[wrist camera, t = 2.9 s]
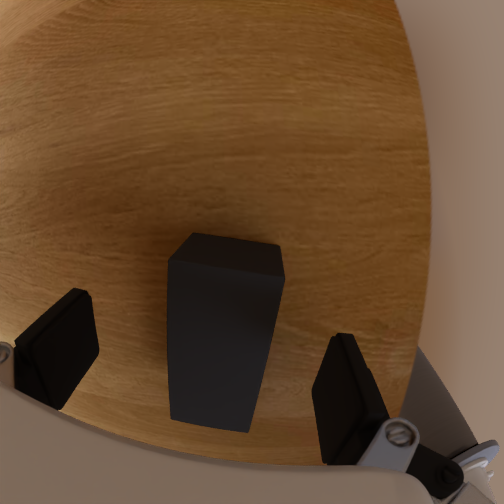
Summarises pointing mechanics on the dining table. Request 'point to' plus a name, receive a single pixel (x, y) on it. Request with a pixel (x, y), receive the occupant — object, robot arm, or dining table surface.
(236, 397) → the pad
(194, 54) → the dining table surface
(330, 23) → the dining table surface
